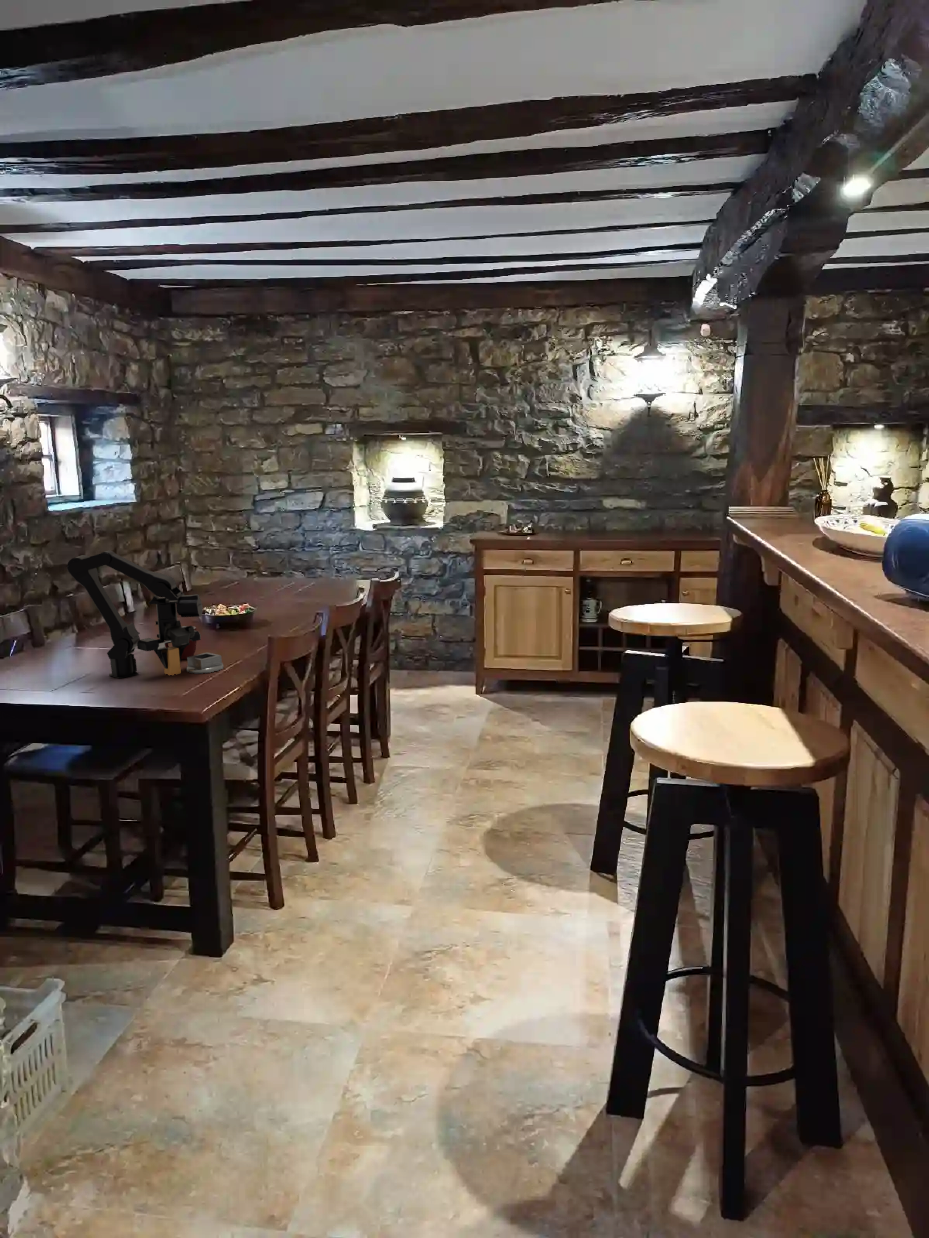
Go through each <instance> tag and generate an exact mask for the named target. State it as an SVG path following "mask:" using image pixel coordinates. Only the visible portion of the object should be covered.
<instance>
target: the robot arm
mask: <svg viewBox="0 0 929 1238" xmlns="http://www.w3.org/2000/svg"><path fill="white" fill-rule="evenodd" d="M103 566H107V567H109V568H111V569H113V570H115V571H117V572H119V573H121V574H122V575H125V576H127V577H128V578H131V579H133V580H135V581H137V582H138V583H140V584H142V585H143V586H144V587H145V588H146V589H147V590H148V591H149V592H151V593H152V594H153V595H154V596H153V597H152V598H151V600H150V601H149V602H148V604H149V605H155V606H156V616H157V620H155V625H157V627H158V628H157V629H158V633H157V634H156V638H157V639H156V638H152V637H146V638H142V639H141V638H140V634H141V633H140V632H139V631H138V630H137V628H136V626H135V624H134V623H133V622H131V623H130V624H129V623H127V622H126V621H125V620H124V619H123V618H122V616H121V614H120V613H119V611H118V609H117V608H116V606H115V605H114V603H113V601H112V599H111V598H110V596H109V594H108V593H107V591H106V590H105V588H104V586H103V585H102V583H101V582H100V579H99V573H98V569H97V568H100V567H103ZM66 569H67V572H68V574H69V575H70V576H71V577H72V578H73V579H74V580H75V581H76V582H77V583H78V584H80V585H81V586H82V587H84V589H85V590H86V592H87V595H89V597H90V599H91V601H92V602H93V604H94V605H95V607H96V609H97V610H98V612H99V614H100V616H102V618H103V620H104V622H105V624H106V625H107V626H108V628H109V633H110V638H111V641H112V643H113V646H112V647H111V648H110V649H109V650H108V651H107V652H106V654H107V655H106V656H107V657H108V659H109V660H110V670H111V673H109V674H108V675H109V676H110V677H113V678H116V679H125V678H128V677H132V676H137V675H139V671H138V668H137V667H138V666H137V659H136V658H135V654H133V653H134V652H135V651H136V650H135V649H136V647H137V650H141V651H143V652H144V651H145V652H151V651H153V652H154V653H155V654H156V655H157V657H158V659H159V660H160V662H161V664H162V666H163V668H164V667H165V669H168V660H167V650H168V648H166V647H165V644H167V643H168V644H171V647H176V648H179V658H180V662H181V660H182V659H181V657H182V653H183V651H184V649H185V647H186V646H187V645H189V644H190V643H189V639H190V640H191V641H196V642H198V641H201V640H202V638H201V637H202V635H201V633H200V631H199V630H197V631H195V630H194V627H195V626H194V627H193V625H186V626H187V627H182V625H181V620H178V616H180V617H181V618H199V617H200V618H201V617H202V616H203V607H204V606H203V603H202V600H201V597H200V594H199V593H198V594H197V593H196V594H189V595H188V594H187V595H185V593H183V591H182V590H181V588H179V587H178V585H177V582H176V580H175V579H174V577H172V576H171V575H170V576H169V575H167V574H165V573H161V572H160V573H159V572H155V571H152V570H148V569H146V568H144V567H143V566H141V565H139V564H136V563H135V562H132V561H131V560H129V559H127V558H125V557H123V556H121V555H119V554H117V553H116V552H114V551H113V550H105V551H103V552H101V553H97V554H94V555H91V556H88V555H85V554H84V555H82V554H81V555H79V556H76V557H73V558H71V559H69V561H68V562H67V565H66ZM166 640H167V641H166Z"/></svg>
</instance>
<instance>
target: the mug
mask: <svg viewBox="0 0 929 1238" xmlns="http://www.w3.org/2000/svg"><path fill="white" fill-rule="evenodd" d="M187 626H188V625H186V626H185V625H184V626H182V625H181V627H187ZM192 626H193V625H192ZM193 627H194V630H195V631H198V630H197V626H193ZM166 641H167V640H166ZM189 643H190V644H189V645H187V646H186V647H185V649H184V651H183V653H182V657H181V660H187V657H189V656H194V655H195V653H196V650H197V641H191V640H190V639H189ZM168 647H170V645H169V643H167V644H165V648H168Z"/></svg>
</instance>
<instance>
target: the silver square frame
mask: <svg viewBox="0 0 929 1238" xmlns="http://www.w3.org/2000/svg"><path fill="white" fill-rule="evenodd" d="M186 660H187V666H186V672H187V673H188V672H189V673H188V674H193V673H194V674H196V675H197V674H198V675H203V673H205V674H212V673H215V672H214V671H217V672H220V671H222V670H223V669H224V663H223V662H222V661H223V660H222V655H221V654H217V653H216V654H215V653H212V652H202V653H200V654H194V655H193V656H189V657H187V659H186ZM221 669H222V670H221ZM219 670H220V671H219ZM211 672H212V673H211Z"/></svg>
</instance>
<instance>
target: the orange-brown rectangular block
mask: <svg viewBox="0 0 929 1238" xmlns="http://www.w3.org/2000/svg"><path fill="white" fill-rule="evenodd" d="M167 660H168V669H165V667H164V666H163V673H164V675H166V674H168V675H167V676H170V675H172V676H175V675H174V674H176V675H179V674H181V673H182V671H181V670H182V669H181V661H180V658H179V648H176V647H172V646H169V647H168V650H167Z"/></svg>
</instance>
